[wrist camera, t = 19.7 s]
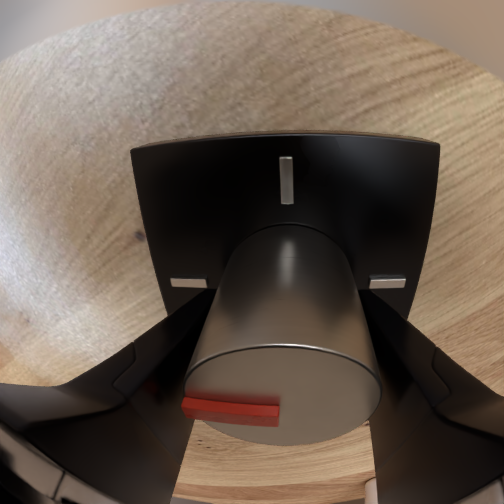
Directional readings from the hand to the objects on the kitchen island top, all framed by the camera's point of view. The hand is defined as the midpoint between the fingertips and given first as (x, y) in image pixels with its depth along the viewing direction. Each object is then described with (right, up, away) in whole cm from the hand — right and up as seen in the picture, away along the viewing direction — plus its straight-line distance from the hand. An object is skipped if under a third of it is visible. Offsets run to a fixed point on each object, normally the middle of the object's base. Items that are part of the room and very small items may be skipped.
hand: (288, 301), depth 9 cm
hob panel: (0, +1, +2) cm, 2 cm away
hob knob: (0, 0, +1) cm, 1 cm away
